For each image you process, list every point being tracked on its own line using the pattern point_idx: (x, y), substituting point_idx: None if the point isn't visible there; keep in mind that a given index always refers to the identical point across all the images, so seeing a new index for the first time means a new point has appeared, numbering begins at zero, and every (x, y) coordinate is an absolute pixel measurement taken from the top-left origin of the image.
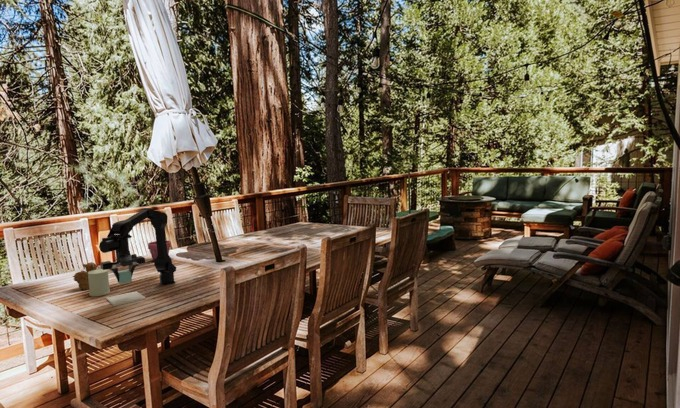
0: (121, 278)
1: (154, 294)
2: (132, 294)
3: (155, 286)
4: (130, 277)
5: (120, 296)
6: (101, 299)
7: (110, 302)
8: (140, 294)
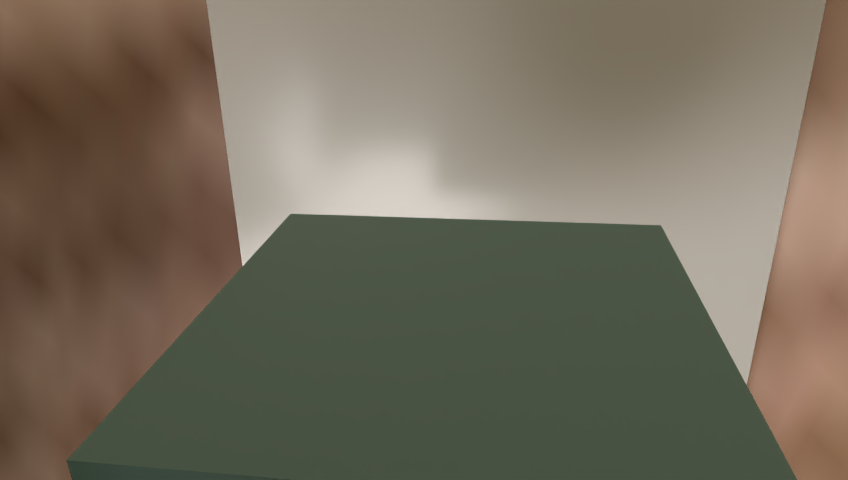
0: (650, 328)
1: (39, 94)
2: None
3: (5, 475)
4: (260, 287)
5: None
6: None
7: (783, 160)
8: (240, 186)
